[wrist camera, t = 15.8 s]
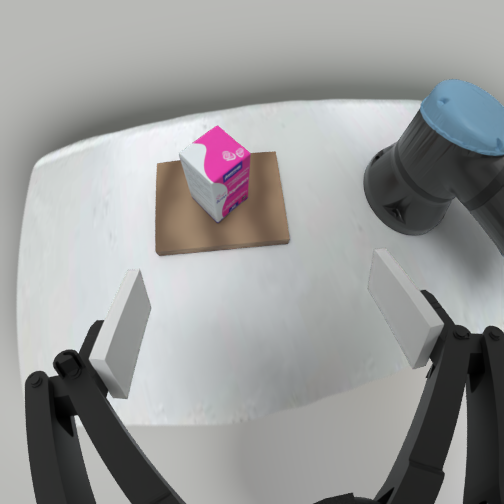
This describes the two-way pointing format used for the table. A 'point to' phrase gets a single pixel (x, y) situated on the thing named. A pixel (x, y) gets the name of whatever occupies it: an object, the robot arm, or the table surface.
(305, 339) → the table surface
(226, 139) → the supplement box
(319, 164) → the table surface
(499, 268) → the table surface
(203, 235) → the brown flat block
